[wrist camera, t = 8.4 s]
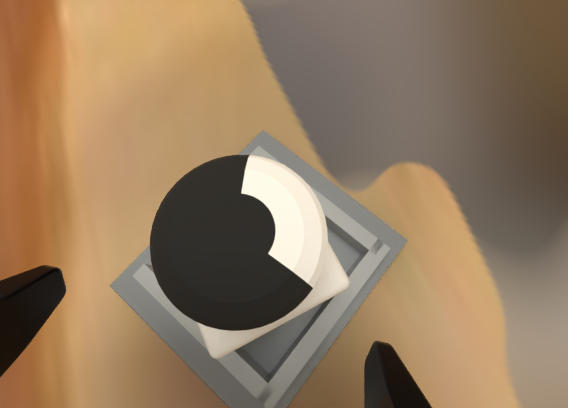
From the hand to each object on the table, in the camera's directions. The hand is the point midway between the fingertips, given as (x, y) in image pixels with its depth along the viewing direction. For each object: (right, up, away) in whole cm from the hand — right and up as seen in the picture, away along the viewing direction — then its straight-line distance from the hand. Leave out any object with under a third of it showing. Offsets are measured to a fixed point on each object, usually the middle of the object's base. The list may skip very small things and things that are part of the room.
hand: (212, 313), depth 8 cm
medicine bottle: (0, -1, +13) cm, 13 cm away
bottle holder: (0, -1, +13) cm, 14 cm away
